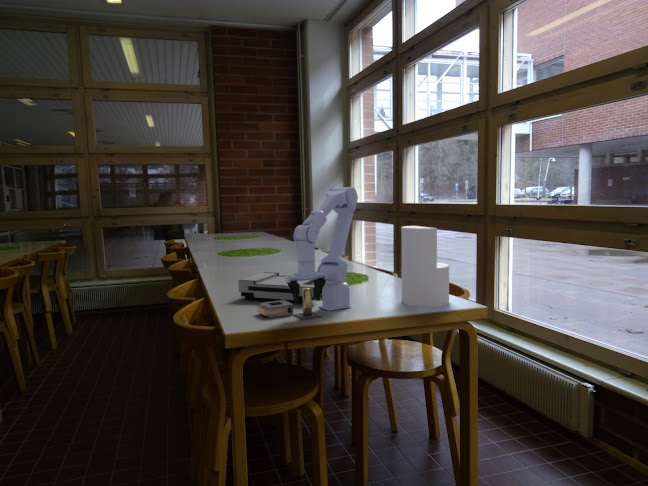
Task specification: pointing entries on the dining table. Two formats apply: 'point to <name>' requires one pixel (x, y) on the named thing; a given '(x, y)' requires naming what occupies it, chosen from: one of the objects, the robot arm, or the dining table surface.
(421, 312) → the dining table surface
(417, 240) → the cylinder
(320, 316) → the rubber mat
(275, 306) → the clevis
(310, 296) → the brass peg
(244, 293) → the game console
